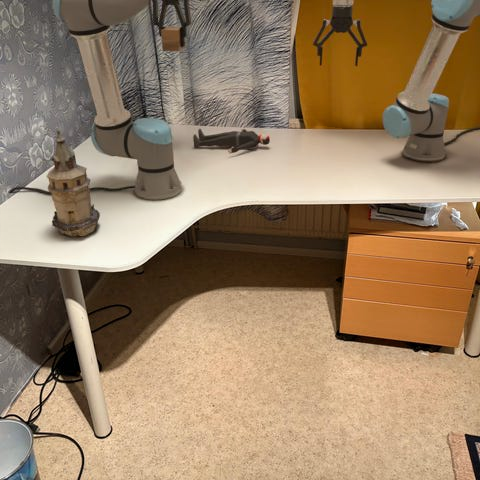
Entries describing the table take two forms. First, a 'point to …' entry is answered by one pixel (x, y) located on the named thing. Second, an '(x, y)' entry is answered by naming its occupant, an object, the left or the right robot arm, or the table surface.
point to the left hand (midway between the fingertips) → (173, 46)
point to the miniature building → (70, 193)
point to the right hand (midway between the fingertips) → (338, 65)
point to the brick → (171, 38)
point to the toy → (231, 140)
